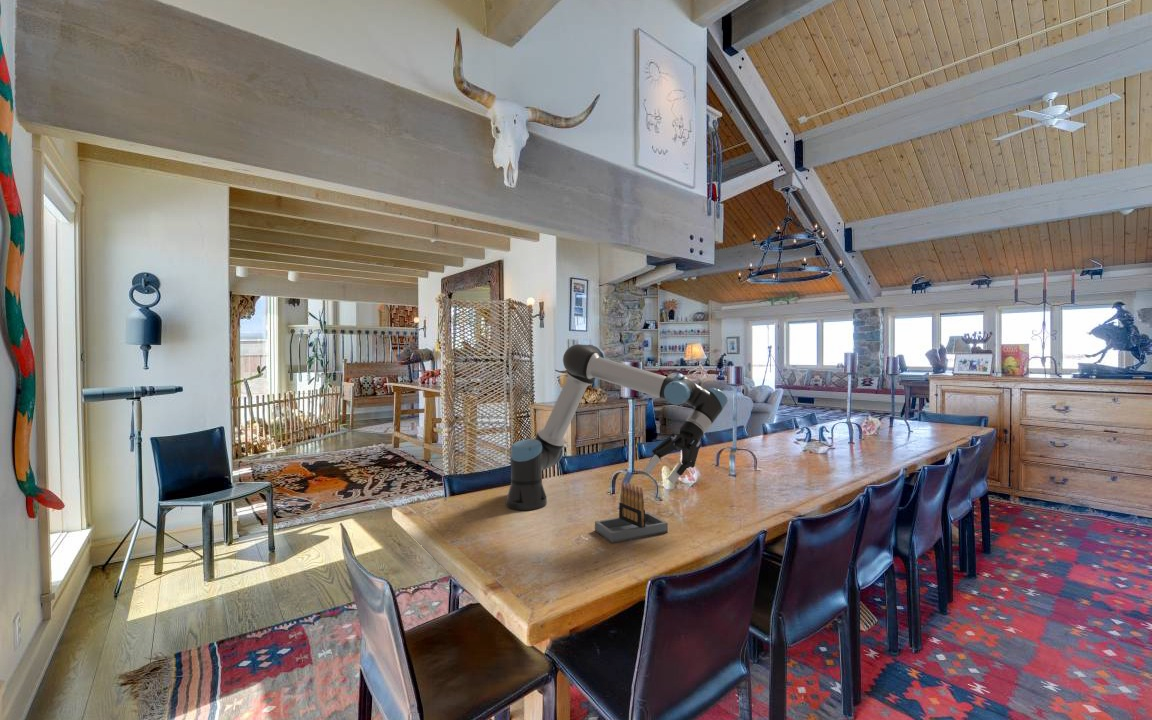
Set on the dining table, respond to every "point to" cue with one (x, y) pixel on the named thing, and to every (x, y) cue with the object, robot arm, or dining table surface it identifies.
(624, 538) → the tray
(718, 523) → the dining table surface
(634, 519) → the ammunition clip
